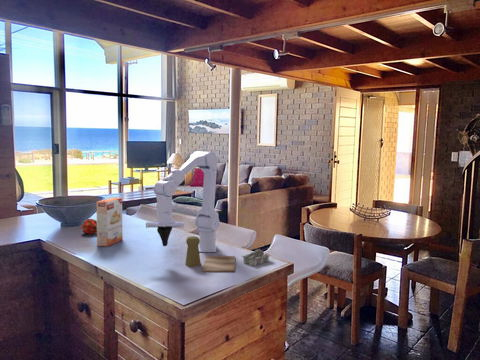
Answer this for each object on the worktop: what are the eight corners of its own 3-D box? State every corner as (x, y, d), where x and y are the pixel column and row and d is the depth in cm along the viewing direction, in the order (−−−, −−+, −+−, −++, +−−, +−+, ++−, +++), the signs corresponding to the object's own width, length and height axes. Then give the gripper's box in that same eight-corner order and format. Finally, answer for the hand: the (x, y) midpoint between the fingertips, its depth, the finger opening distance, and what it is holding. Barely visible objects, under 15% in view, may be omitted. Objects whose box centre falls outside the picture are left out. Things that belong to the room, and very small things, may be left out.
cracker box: (108, 247, 176) (107, 201, 174) (96, 246, 178) (95, 201, 175) (123, 239, 190) (122, 197, 188) (112, 238, 191) (111, 197, 189)
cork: (201, 261, 156) (201, 235, 155) (200, 266, 150) (200, 238, 149) (186, 261, 156) (185, 235, 155) (184, 266, 150) (184, 238, 149)
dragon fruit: (87, 234, 207) (97, 241, 199) (74, 227, 201) (84, 234, 193) (96, 220, 209) (107, 227, 201) (84, 213, 203) (94, 220, 195)
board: (206, 257, 162) (206, 255, 162) (235, 257, 162) (235, 256, 162) (202, 271, 144) (202, 270, 144) (234, 272, 144) (234, 270, 144)
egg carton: (260, 257, 163) (260, 248, 163) (272, 262, 157) (272, 252, 157) (240, 262, 157) (240, 252, 156) (251, 267, 151) (252, 256, 150)
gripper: (143, 213, 147) (144, 248, 148) (181, 213, 147) (182, 248, 148) (147, 210, 154) (148, 243, 155) (184, 210, 154) (184, 243, 155)
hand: (165, 245), depth 152 cm, fingers closed
